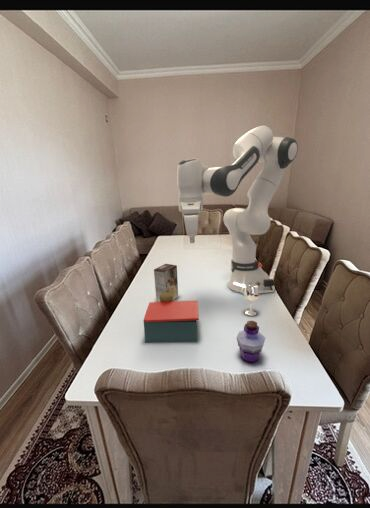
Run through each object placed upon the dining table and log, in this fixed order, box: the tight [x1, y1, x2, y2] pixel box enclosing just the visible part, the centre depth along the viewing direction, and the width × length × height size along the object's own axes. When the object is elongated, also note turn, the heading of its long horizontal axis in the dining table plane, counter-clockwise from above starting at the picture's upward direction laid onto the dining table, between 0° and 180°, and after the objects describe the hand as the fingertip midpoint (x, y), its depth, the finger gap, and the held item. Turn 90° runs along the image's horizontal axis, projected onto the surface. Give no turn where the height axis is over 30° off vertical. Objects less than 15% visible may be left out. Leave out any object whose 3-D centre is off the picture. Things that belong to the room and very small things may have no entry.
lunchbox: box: [143, 320, 198, 343], centre depth 90 cm, size 18×13×8 cm
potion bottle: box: [236, 320, 267, 364], centre depth 75 cm, size 9×9×12 cm
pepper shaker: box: [160, 292, 173, 303], centre depth 97 cm, size 6×6×11 cm
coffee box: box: [153, 263, 179, 302], centre depth 113 cm, size 9×6×16 cm
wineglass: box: [243, 283, 260, 317], centre depth 100 cm, size 6×6×12 cm
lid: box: [143, 300, 200, 323], centre depth 89 cm, size 18×13×1 cm
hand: (192, 242), depth 96 cm, fingers closed
